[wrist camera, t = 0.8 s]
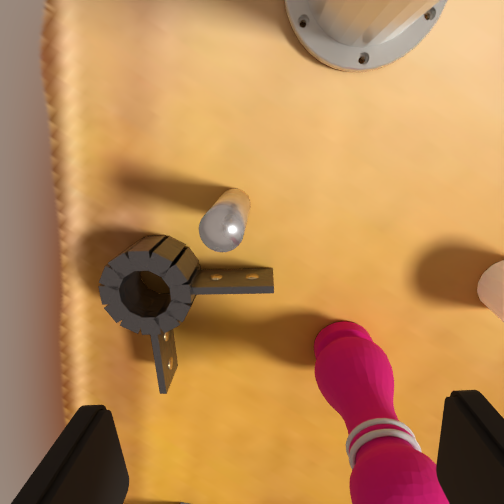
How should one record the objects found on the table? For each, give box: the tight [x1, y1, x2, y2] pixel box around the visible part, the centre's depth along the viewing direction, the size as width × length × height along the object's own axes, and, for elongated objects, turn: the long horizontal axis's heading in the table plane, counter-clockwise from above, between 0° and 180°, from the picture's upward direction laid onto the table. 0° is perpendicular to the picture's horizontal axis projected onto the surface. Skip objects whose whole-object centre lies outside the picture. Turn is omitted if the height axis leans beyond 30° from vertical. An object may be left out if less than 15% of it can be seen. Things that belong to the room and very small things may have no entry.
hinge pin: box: [199, 188, 250, 252], centre depth 26 cm, size 3×3×10 cm
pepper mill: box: [314, 321, 450, 504], centre depth 26 cm, size 7×7×20 cm
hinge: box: [98, 235, 274, 394], centre depth 32 cm, size 16×16×5 cm
